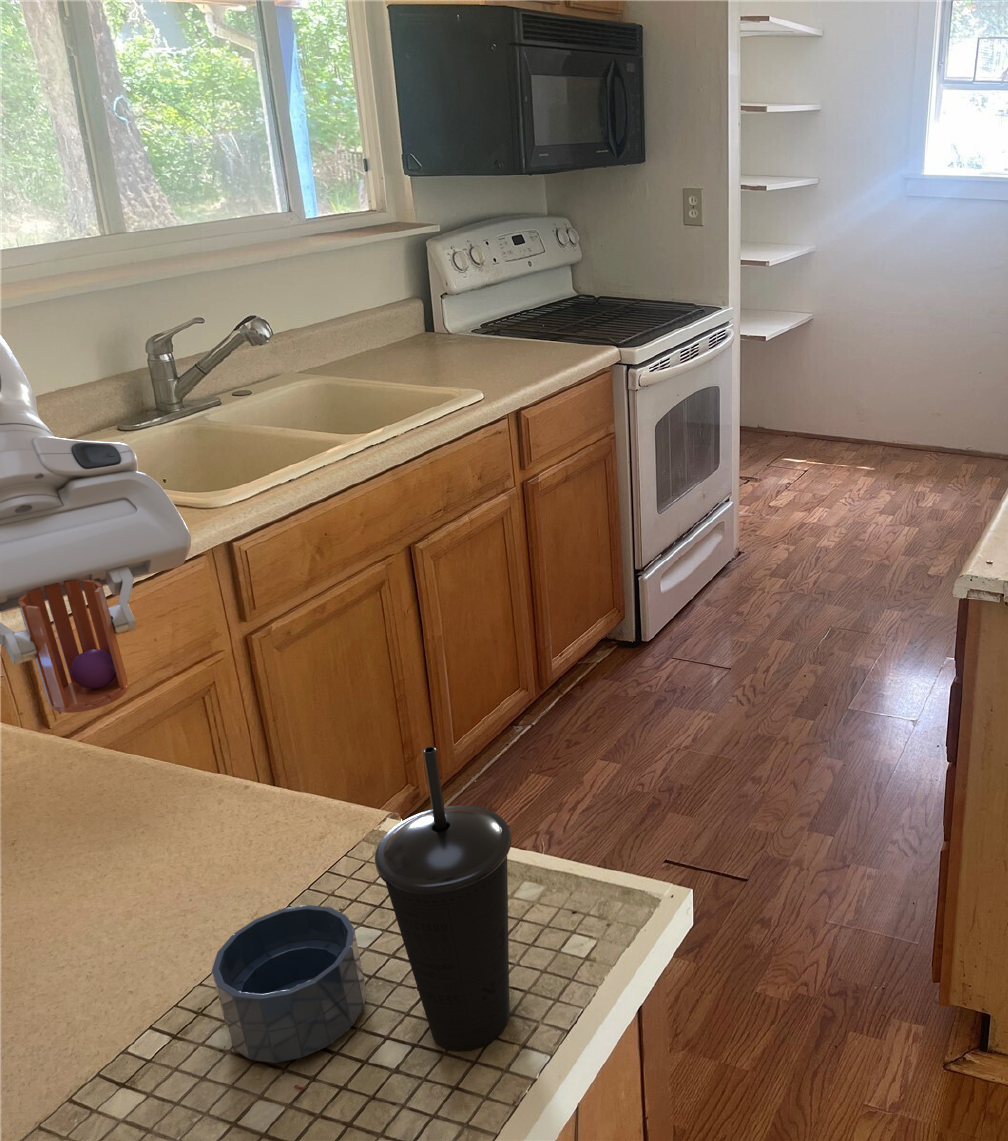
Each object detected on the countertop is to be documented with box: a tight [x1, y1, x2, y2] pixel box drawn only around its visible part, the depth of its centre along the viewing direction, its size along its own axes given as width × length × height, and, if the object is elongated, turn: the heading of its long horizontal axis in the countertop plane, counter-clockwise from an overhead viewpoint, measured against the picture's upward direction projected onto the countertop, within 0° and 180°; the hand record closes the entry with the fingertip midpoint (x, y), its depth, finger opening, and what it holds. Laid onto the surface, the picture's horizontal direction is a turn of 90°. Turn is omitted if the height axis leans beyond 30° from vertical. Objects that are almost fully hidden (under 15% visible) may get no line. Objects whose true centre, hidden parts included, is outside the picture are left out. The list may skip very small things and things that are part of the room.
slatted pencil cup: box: [18, 579, 129, 714], centre depth 79 cm, size 5×5×8 cm
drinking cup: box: [374, 746, 512, 1052], centre depth 63 cm, size 8×8×20 cm
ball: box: [71, 648, 116, 689], centre depth 81 cm, size 3×3×3 cm
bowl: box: [211, 904, 367, 1064], centre depth 67 cm, size 8×8×6 cm
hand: (77, 643), depth 79 cm, fingers closed on slatted pencil cup, 5 cm apart
